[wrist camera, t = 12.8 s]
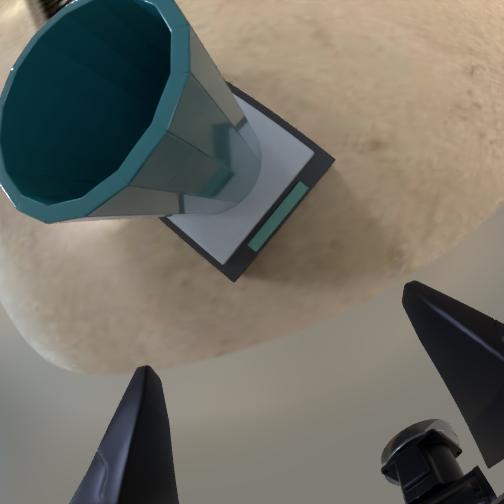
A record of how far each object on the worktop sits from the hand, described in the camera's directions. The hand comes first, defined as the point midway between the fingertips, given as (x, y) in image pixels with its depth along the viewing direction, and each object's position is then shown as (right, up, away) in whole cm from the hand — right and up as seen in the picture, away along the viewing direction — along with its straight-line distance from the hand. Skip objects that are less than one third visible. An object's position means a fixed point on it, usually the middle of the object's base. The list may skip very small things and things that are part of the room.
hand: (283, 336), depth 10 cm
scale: (-3, +9, +11) cm, 15 cm away
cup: (-4, +8, +9) cm, 13 cm away
